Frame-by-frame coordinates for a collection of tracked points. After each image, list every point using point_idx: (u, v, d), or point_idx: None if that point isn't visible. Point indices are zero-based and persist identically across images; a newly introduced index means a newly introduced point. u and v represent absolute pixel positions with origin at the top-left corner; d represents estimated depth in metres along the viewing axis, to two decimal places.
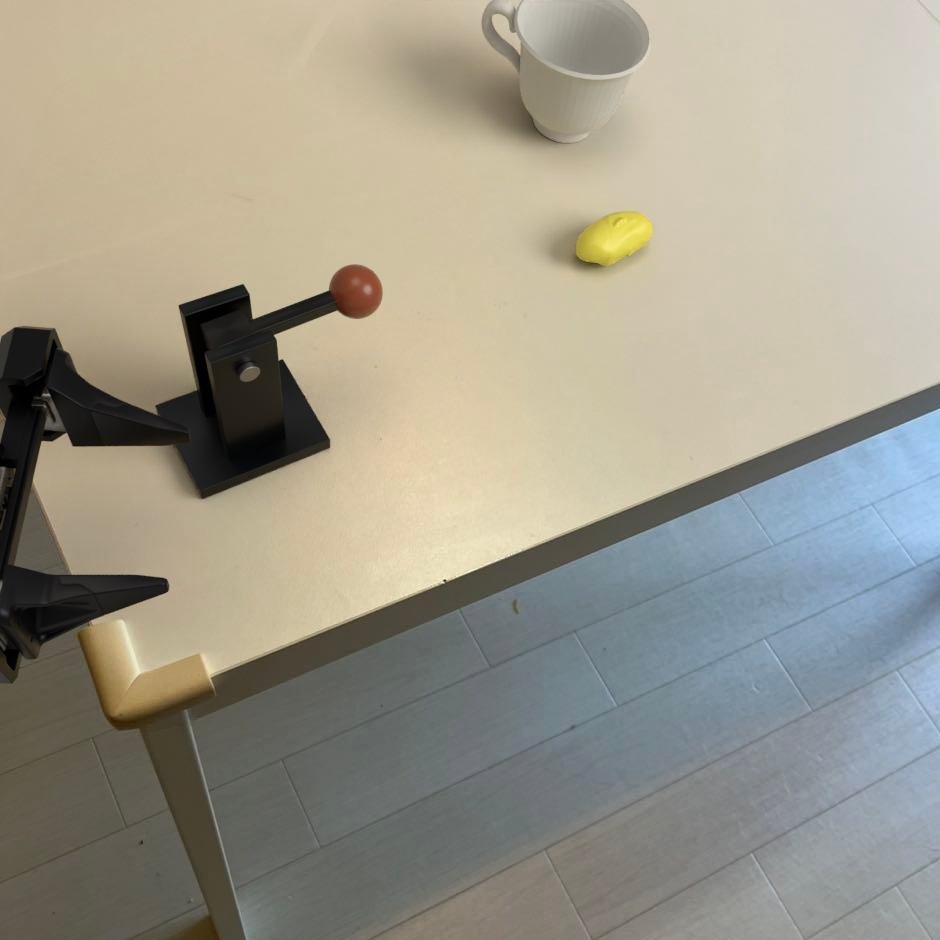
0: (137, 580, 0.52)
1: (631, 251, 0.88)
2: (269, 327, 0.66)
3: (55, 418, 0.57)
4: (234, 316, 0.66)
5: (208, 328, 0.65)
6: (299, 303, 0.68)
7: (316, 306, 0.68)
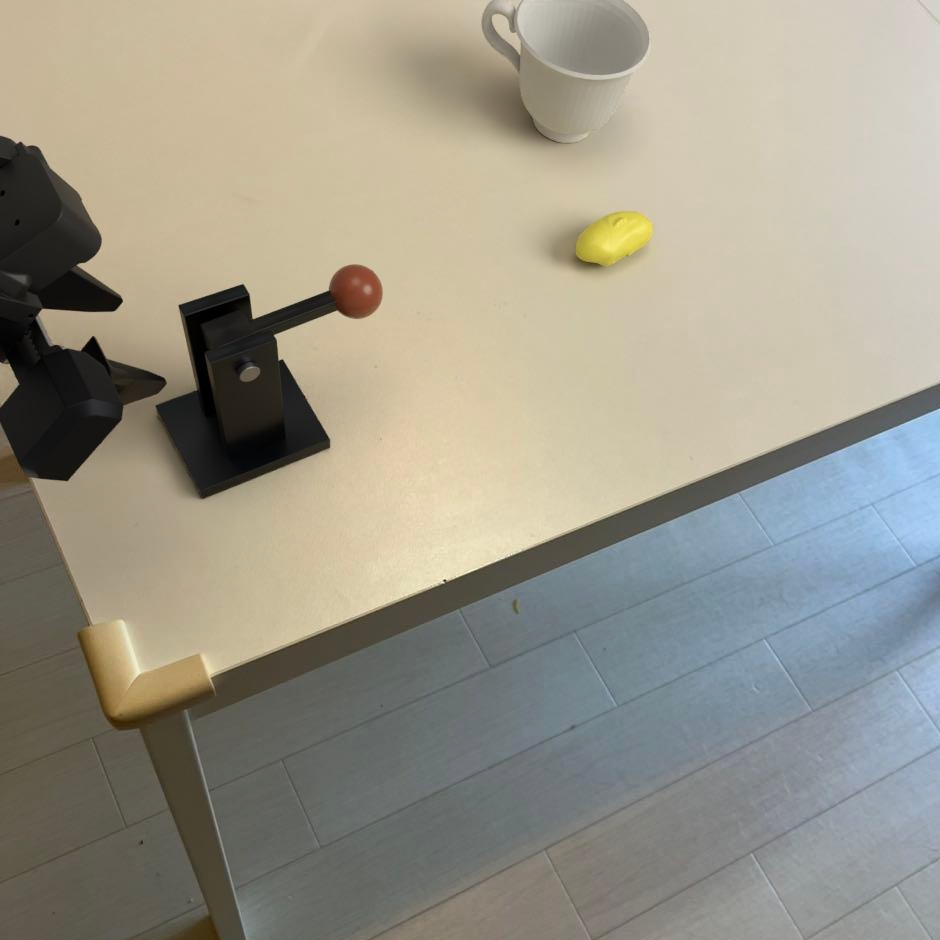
0: (151, 375, 0.59)
1: (631, 251, 0.88)
2: (269, 327, 0.66)
3: None
4: (234, 316, 0.66)
5: (208, 328, 0.65)
6: (299, 303, 0.68)
7: (316, 306, 0.68)
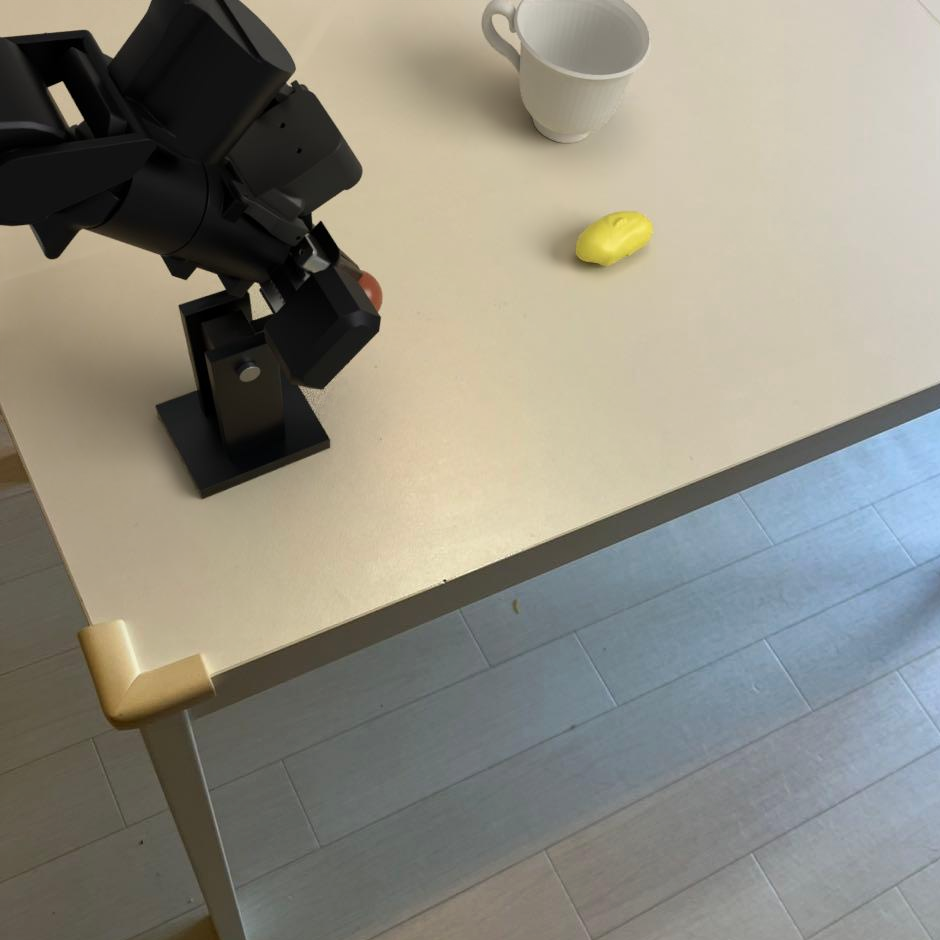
0: (353, 266, 0.66)
1: (631, 251, 0.88)
2: None
3: None
4: (235, 316, 0.66)
5: (208, 327, 0.65)
6: None
7: None
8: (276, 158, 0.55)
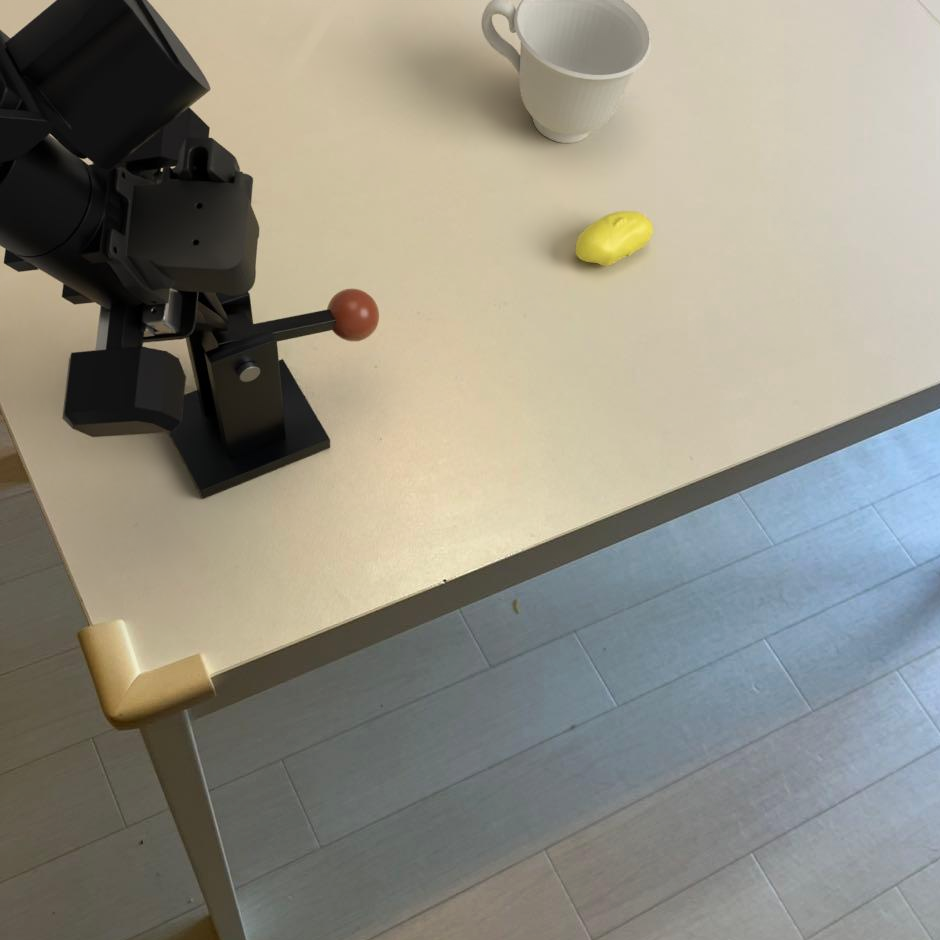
0: (219, 321, 0.63)
1: (631, 251, 0.88)
2: None
3: None
4: (239, 317, 0.66)
5: None
6: (300, 316, 0.69)
7: (317, 321, 0.69)
8: (171, 233, 0.51)
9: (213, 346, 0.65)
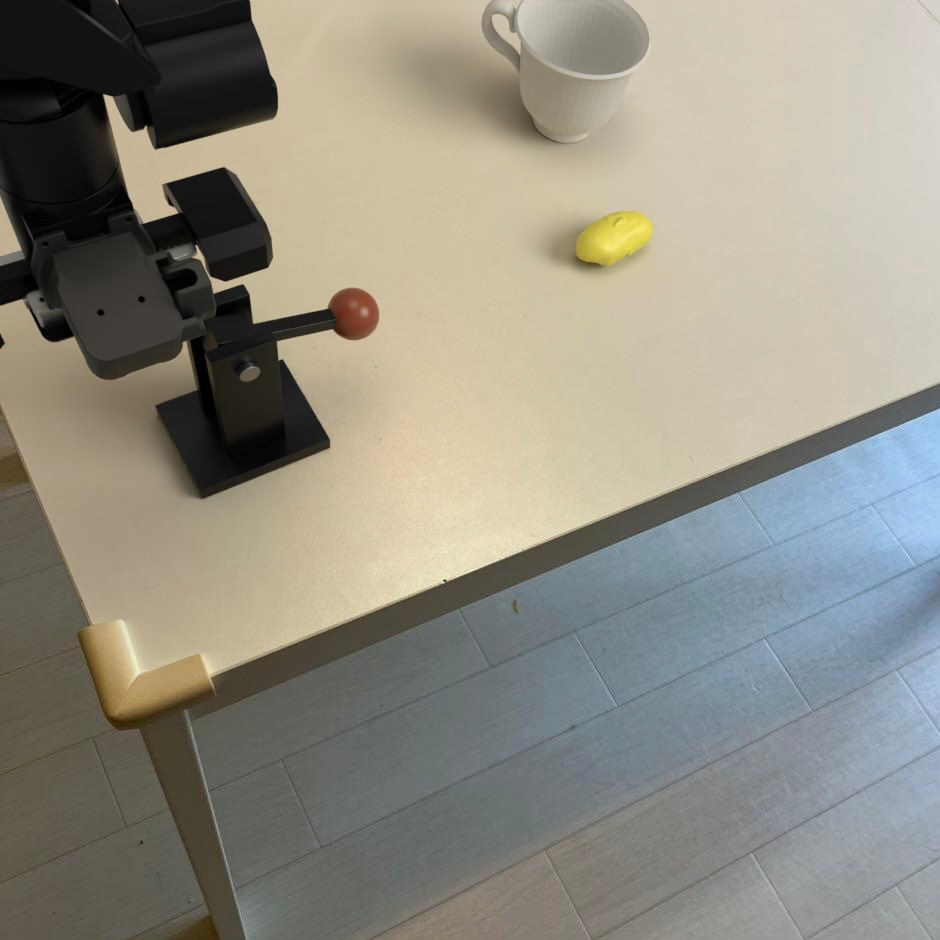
0: None
1: (631, 251, 0.88)
2: None
3: None
4: (239, 317, 0.66)
5: (212, 324, 0.65)
6: (300, 315, 0.69)
7: (317, 321, 0.69)
8: (98, 286, 0.49)
9: (213, 346, 0.65)
